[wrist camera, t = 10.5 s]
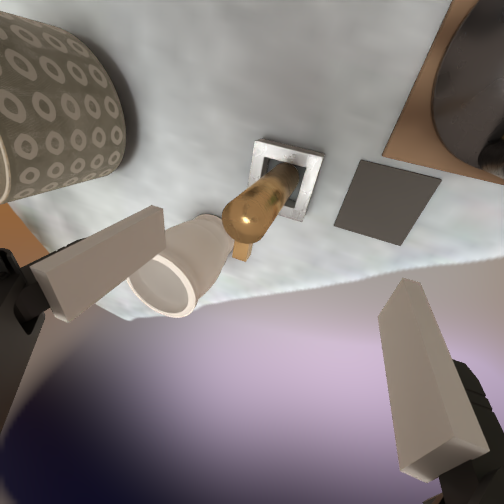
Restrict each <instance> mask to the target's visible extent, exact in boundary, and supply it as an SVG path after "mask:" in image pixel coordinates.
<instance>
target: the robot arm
mask: <svg viewBox="0 0 504 504" xmlns="http://www.w3.org/2000/svg"><path fill="white" fill-rule="evenodd" d="M165 248H166V239H165V227H164V216H163V208H159V207H156V206H152V205H151V206H149V207H147V208H145V209H143V210H141V211H139V212H137V213H135V214H133V215H131V216H129V217H127V218H125V219H123V220H121V221H119V222H117V223H115V224H113V225H111V226H109V227H107V228H105V229H103V230H101V231H99V232H97V233H95V234H93V235H91V236H89V237H87V238H83V239H79V240H77V241H75V242H72V243H70V244H68V245H67V246H66V247H65V246H64V247H62V248H60V249H58V251H54V252H52V253H50V254H48V255H46V256H44V257H42V258H40V259H38V260H36V261H34V262H32V263H30V264H28V265H26V266H24V267H21V268H20V267H19V265H18V263H17V261H16V259H15V257H14V256H13V254H12V252H11V251H10V250H8V249H5V248H0V434H1V431H2V428H3V426H4V423H5V421H6V418H7V415H8V413H9V410H10V407H11V405H12V403H13V400H14V397H15V395H16V392H17V390H18V387H19V384H20V382H21V379H22V376H23V374H24V372H25V369H26V366H27V364H28V361H29V359H30V356H31V354H32V351H33V348H34V346H35V343H36V341H37V338H38V335H39V333H40V330H41V328H42V325H43V323H44V320H45V313H44V311H45V310H47V309H48V308H51V310H52V312H53V314H54V316H55V317H56V318H58V319H61V320H63V321H65V322H67V323H70V322H71V321H72V320H74V319H75V318H76V317H78V316H79V315H80V314H81V313H83V312H84V311H85V310H87V309H88V308H89V307H90V306H92V305H93V304H94V303H96V302H97V301H98V300H100V299H101V298H102V297H103V296H105V295H106V294H107V293H109V292H110V291H111V290H112V289H114V288H115V287H116V286H118V285H119V284H120V283H122V282H123V281H124V280H125V279H127V278H128V277H129V276H131V275H132V274H133V273H134V272H136V271H137V270H138V269H140V268H141V267H142V266H143V265H145V264H146V263H147V262H149V261H150V260H151V259H152V258H154V257H155V256H156V255H158V254H159V253H160V252H161V251H163V250H164V249H165ZM378 322H379V329H380V336H381V343H382V350H383V357H384V363H385V370H386V377H387V384H388V391H389V398H390V405H391V411H392V419H393V426H394V432H395V440H396V446H397V453H398V460H399V467H400V471H401V472H403V473H406V474H408V475H410V476H412V477H415V478H417V479H419V480H421V481H424V482H426V483H428V482H430V481H432V480H434V479H436V478H438V477H439V480H440V484H441V488H442V492H443V493H440V494H438V495H436V496H434V497H431V498H429V499H427V500H426V501H424V502H423V504H504V432H503V430H502V428H501V426H500V424H499V422H498V420H497V418H496V416H495V414H494V412H492V407H491V405H490V403H489V401H488V399H487V398H485V396H486V395H485V393H484V391H483V388H482V386H481V384H480V382H479V380H478V379H477V378H476V376H475V375H474V374H473V373H472V371H471V370H470V369H469V368H468V367H467V365H466V364H465V363H462V362H459V361H456V360H453V359H452V358H451V355H450V353H449V350H448V348H447V346H446V343H445V341H444V339H443V336H442V334H441V331H440V329H439V326H438V324H437V322H436V320H435V317H434V315H433V312H432V310H431V307H430V305H429V303H428V300H427V298H426V295H425V293H424V290H423V288H422V285H421V283H419V282H416V281H413V280H409V279H406V278H402V280H401V281H400V283H399V284H398V286H397V287H396V289H395V291H394V292H393V294H392V295H391V297H390V298H389V300H388V302H387V303H386V305H385V306H384V308H383V309H382V311H381V313H380V314H379V316H378Z"/></svg>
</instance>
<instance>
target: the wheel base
mask: <svg viewBox="0 0 504 504" xmlns="http://www.w3.org/2000/svg"><path fill="white" fill-rule="evenodd" d="M477 1H478V0H452V2H451V4H450V7H449V9H448V11H447V13H446V15H445V18H444V20H443V22H442V24H441V26H440V29H439V31H438V33H437V35H436V37H435V40H434V42H433V44H432V46H431V48H430V51H429V53H428V55H427V57H426V59H425V61H424V64H423V66H422V68H421V70H420V72H419V75H418V77H417V79H416V81H415V83H414V86H413V88H412V90H411V92H410V94H409V97H408V99H407V101H406V103H405V105H404V108H403V110H402V112H401V114H400V116H399V118H398V121H397V123H396V125H395V127H394V129H393V132H392V134H391V136H390V138H389V140H388V143H387V145H386V147H385V149H384V151H383V154H382V156H383V157H387V158H391V159H396V160H400V161H404V162H408V163H412V164H417V165H421V166H425V167H429V168H434V169H438V170H442V171H446V172H450V173H455V174H459V175H463V176H467V177H472V178H476V179H480V180H484V181H489V182H493V183H497V184H501V185H504V179H502V178H500V177H498V176H495V175H493V174H491V173H489V172H486V171H484V170H481V169H478V168H475V167H473V166H470V165H468V164H466V163H464V162H462V161H460V160H459V159H457V158H456V157H455V156H453V155H452V154H451V153H450V152H449V151H448V150H447V149H446V148H445V147H444V145H443V144H442V142H441V141H440V139H439V138H438V136H437V133H436V131H435V128H434V124H433V120H432V113H431V97H432V89H433V84H434V79H435V75H436V72H437V69H438V66H439V63H440V61H441V59H442V56H443V54H444V52H445V50H446V47H447V46H448V44H449V42H450V40H451V38H452V37H453V35H454V33H455V31H456V30H457V28H458V27H459V25H460V24H461V22H462V21H463V19H464V18H465V17H466V15H467V14H468V12H469V11H470V10H471V9H472V7H473V6H474V5H475V4H476V3H477Z"/></svg>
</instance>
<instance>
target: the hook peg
mask: <svg viewBox="0 0 504 504" xmlns="http://www.w3.org/2000/svg"><path fill="white" fill-rule="evenodd" d="M298 182H299V173H298V171H297V169H296V168H295V167H294V166H293V165H291V164H289V163H281V164H279V165H277V166H276V167H274V168H273V169H272V170H270V171H269V172H268V173H267V174H265V175H264V176H263V177H262V178H260V179H259V180H258V181H256V182H255V183H254V184H253V185H251V186H250V187H249V188H247V189H246V190H245V191H244V192H242V193H241V194H240V195H239V196H237V197H236V198H235V199H233V200H232V201H231V202H230V203H228V204H227V205H226V206H225V208H224V210H223V212H222V224H223V227H224V229H225V231H226V232H227V234H228V235H229V236H230V237H231V238H232V239H234V240H235V242H234V248H233V255H232V257H233V258H236V259H239V260H242V261H244V262H246V261H247V259H248V258H249V256H250V255H251V250H252V245H253V243H255V242H257V241H259V240H260V239H261V238H262V237H263V236H264V234H265V233H266V231H267V230H268V228H269V227H270V225H271V224H272V222H273V221H274V219H275V218H276V216H277V215H278V213H279V212H280V210H281V209H282V207H283V206H284V204H285V203H286V201H287V200H288V198H289V197H290V195H291V194H292V192H293V191H294V189H295V188H296V186H297V185H298Z"/></svg>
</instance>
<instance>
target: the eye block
mask: <svg viewBox="0 0 504 504" xmlns="http://www.w3.org/2000/svg"><path fill="white" fill-rule="evenodd" d="M324 155H325V154H324V153H320V152H316V151H312V150H308V149H304V148H300V147H296V146H291V145H287V144H283V143H279V142H275V141H271V140H267V139H263V138H262V139H259V140H256V141H255V143H254V149H253V156H252V162H251V168H250V174H249V180H248V186H247V188H249V187H250V186H251V185H253V184H254V183H255V182H256V181H258V180H259V179H260V178H262V177H263V176H264V175H265V174H266V173H267V168H268V163H269V158H272V159H276V160H279V161H283V162H287V163H291V164H295V165H299V166H302V167H306V171H305V174H304V178H303V181H302V184H301V188H300V191H299V195H298V198H297V201H294V200H291V199H288V200H287V201H286V203H285V204H284V206H283V207H282V209H281V210H280V212H279V213H278V215H280V216H283V217H287V218H290V219H293V220H297V221H300V222H302V221H303V219H304V216H305V214H306V210H307V207H308V204H309V201H310V198H311V195H312V192H313V189H314V186H315V183H316V180H317V177H318V174H319V171H320V168H321V164H322V161H323V158H324Z"/></svg>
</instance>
